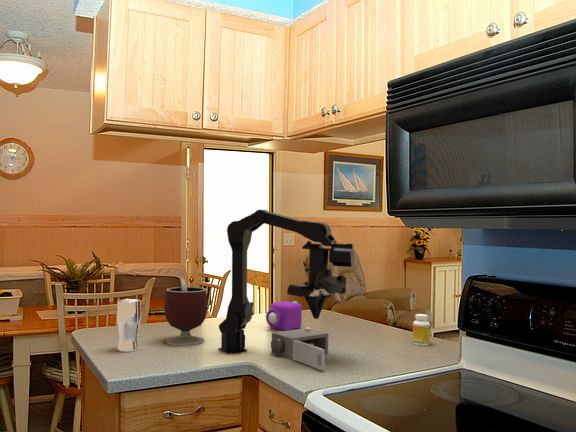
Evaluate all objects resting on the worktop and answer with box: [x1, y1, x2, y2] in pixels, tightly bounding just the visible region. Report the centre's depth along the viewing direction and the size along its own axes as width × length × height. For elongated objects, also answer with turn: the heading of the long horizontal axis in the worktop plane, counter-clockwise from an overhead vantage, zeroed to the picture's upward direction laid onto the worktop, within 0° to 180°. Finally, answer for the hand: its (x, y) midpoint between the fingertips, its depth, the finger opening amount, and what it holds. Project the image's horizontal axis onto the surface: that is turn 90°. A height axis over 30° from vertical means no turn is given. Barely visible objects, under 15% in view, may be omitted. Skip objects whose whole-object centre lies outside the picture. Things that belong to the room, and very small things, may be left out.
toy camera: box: [265, 300, 303, 331], centre depth 208 cm, size 11×14×10 cm
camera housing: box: [270, 326, 329, 360], centre depth 170 cm, size 16×10×7 cm, turn 127°
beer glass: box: [116, 298, 142, 353], centre depth 170 cm, size 7×7×15 cm
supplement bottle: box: [412, 313, 431, 347], centre depth 186 cm, size 5×5×10 cm
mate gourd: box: [163, 277, 209, 347], centre depth 184 cm, size 16×14×20 cm
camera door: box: [291, 340, 325, 371], centre depth 156 cm, size 14×2×5 cm, turn 33°
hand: (316, 318), depth 163 cm, fingers closed
